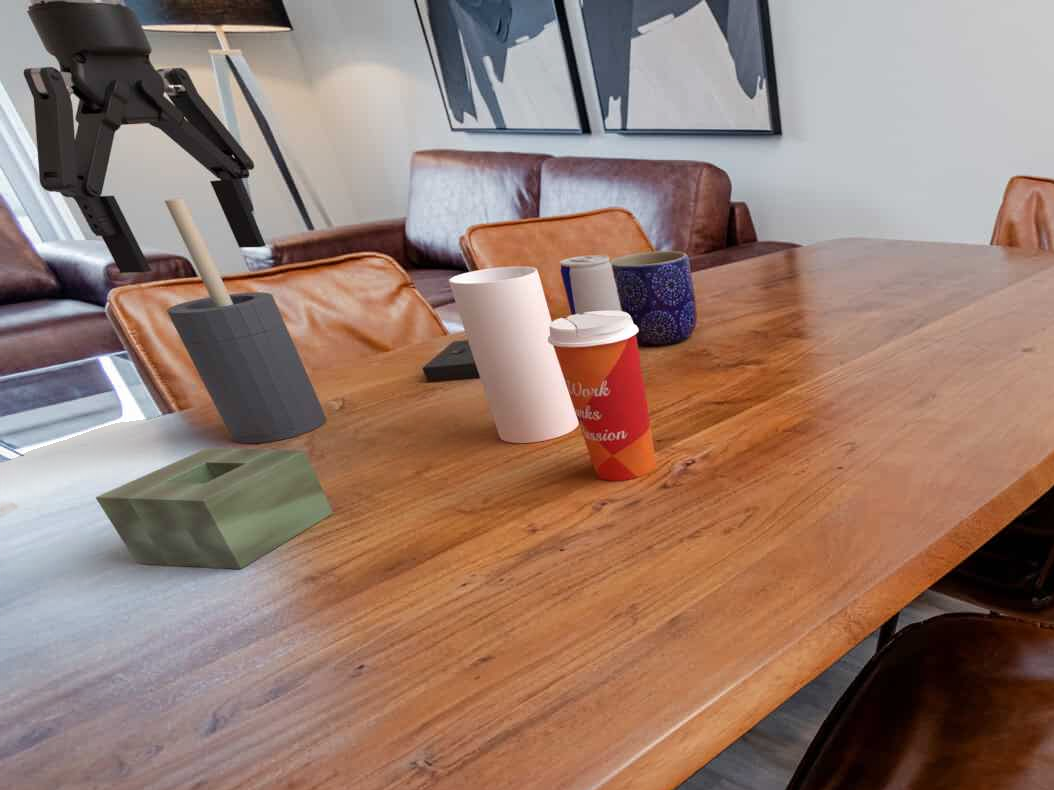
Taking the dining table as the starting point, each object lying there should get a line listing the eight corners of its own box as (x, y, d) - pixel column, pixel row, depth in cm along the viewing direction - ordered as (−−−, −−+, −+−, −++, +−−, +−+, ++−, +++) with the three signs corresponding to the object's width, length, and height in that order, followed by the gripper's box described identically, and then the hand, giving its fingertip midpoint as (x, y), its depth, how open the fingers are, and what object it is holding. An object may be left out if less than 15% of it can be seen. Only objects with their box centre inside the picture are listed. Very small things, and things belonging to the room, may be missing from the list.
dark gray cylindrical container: (212, 443, 91) (143, 313, 83) (278, 414, 99) (220, 292, 91) (283, 444, 89) (220, 312, 82) (344, 415, 97) (292, 291, 90)
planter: (632, 333, 124) (615, 254, 118) (705, 327, 124) (691, 248, 118) (619, 353, 115) (599, 268, 109) (698, 346, 115) (683, 262, 109)
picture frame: (584, 343, 120) (457, 354, 118) (580, 327, 119) (452, 338, 117) (567, 369, 109) (427, 382, 107) (562, 352, 107) (420, 365, 106)
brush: (257, 426, 93) (147, 201, 80) (279, 417, 95) (176, 197, 83) (279, 427, 92) (171, 201, 80) (300, 417, 94) (200, 196, 82)
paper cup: (569, 472, 79) (527, 322, 71) (639, 447, 83) (606, 305, 76) (612, 493, 74) (572, 335, 67) (683, 465, 79) (653, 315, 71)
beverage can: (603, 381, 103) (572, 254, 95) (645, 381, 103) (617, 253, 95) (583, 395, 99) (548, 263, 91) (626, 395, 98) (596, 262, 90)
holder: (136, 564, 67) (94, 497, 64) (239, 509, 75) (206, 448, 72) (241, 569, 65) (203, 500, 62) (334, 513, 73) (304, 450, 70)
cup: (558, 411, 94) (517, 263, 86) (592, 427, 89) (551, 271, 81) (487, 431, 90) (436, 277, 81) (518, 449, 85) (466, 287, 76)
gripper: (-46, -12, 62) (111, 283, 73) (232, 9, 83) (321, 237, 94) (-123, -5, 63) (42, 284, 74) (170, 14, 84) (265, 238, 95)
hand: (198, 258), depth 84 cm, fingers open, 13 cm apart
